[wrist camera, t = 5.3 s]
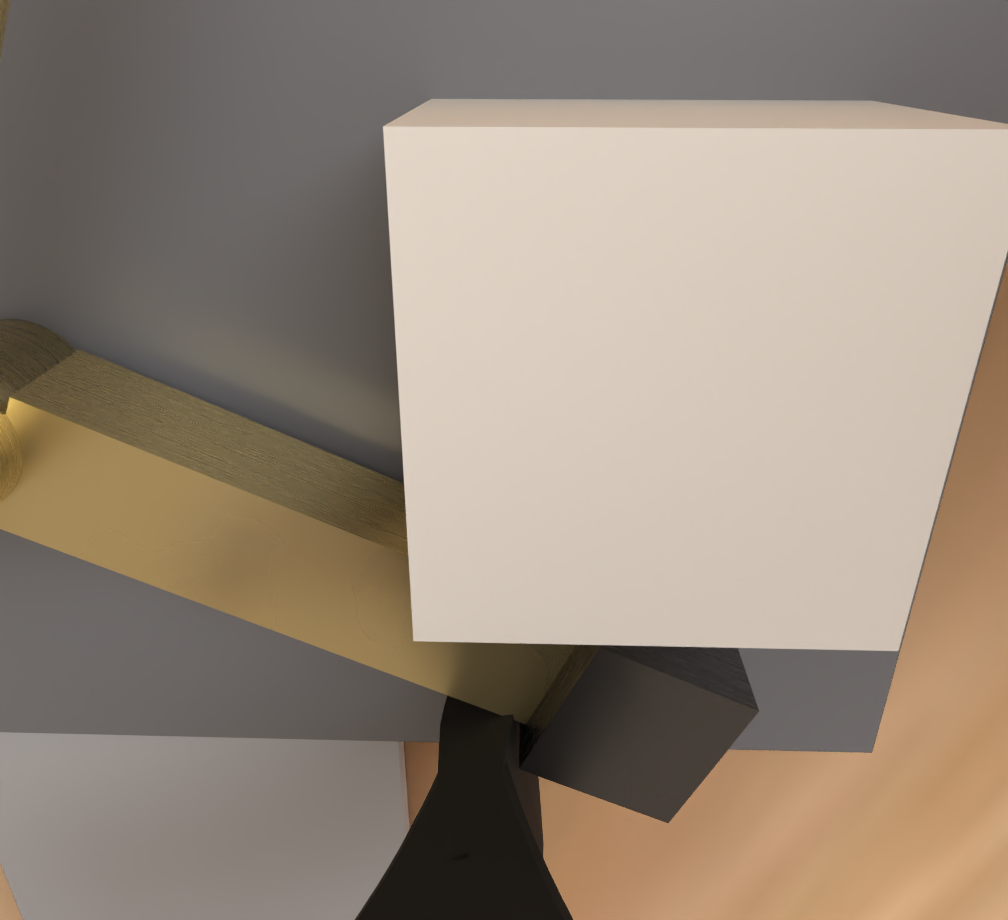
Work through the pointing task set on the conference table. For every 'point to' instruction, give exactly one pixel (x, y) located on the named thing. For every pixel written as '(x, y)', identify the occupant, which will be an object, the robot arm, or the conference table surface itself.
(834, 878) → the conference table surface
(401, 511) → the l-shaped bracket
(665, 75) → the base plate
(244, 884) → the felt pad
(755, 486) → the cream foam cube
